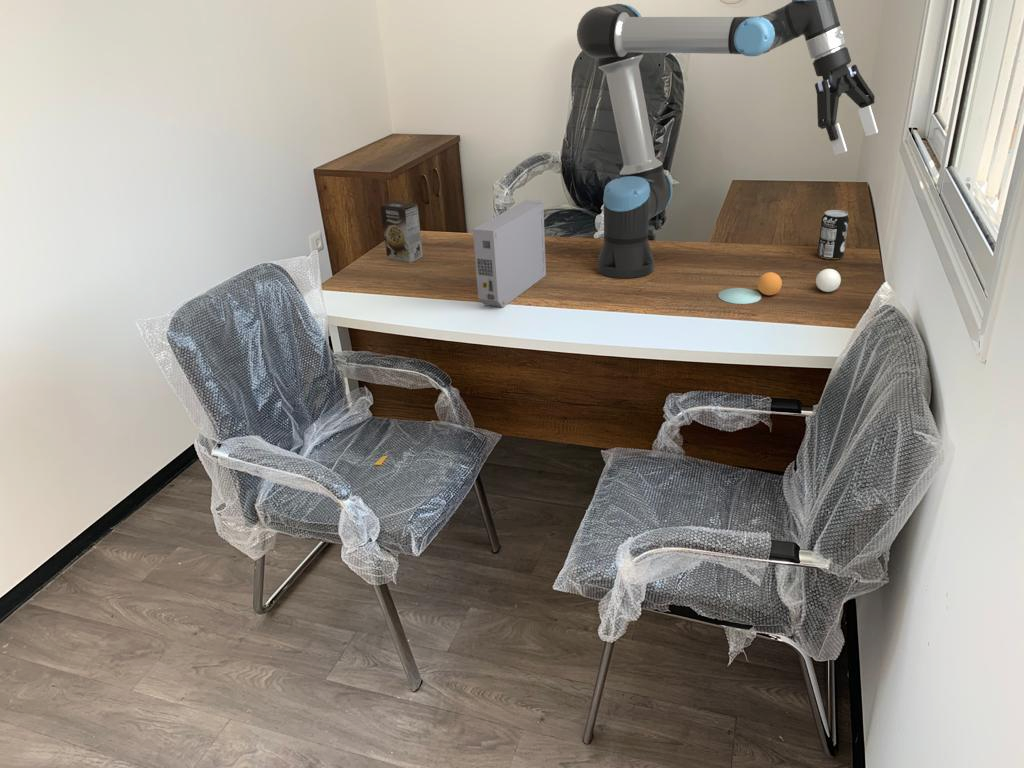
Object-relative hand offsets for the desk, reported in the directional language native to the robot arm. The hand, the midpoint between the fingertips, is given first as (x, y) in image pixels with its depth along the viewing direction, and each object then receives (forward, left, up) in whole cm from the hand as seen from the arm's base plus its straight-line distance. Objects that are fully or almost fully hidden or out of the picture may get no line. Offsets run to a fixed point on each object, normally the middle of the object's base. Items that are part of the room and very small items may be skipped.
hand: (857, 143), depth 175 cm
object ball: (-20, -9, -30) cm, 37 cm away
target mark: (-27, -9, -33) cm, 43 cm away
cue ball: (-6, -9, -30) cm, 32 cm away
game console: (-81, +4, -33) cm, 87 cm away
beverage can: (+4, +15, -33) cm, 36 cm away
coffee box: (-113, +36, -33) cm, 123 cm away
